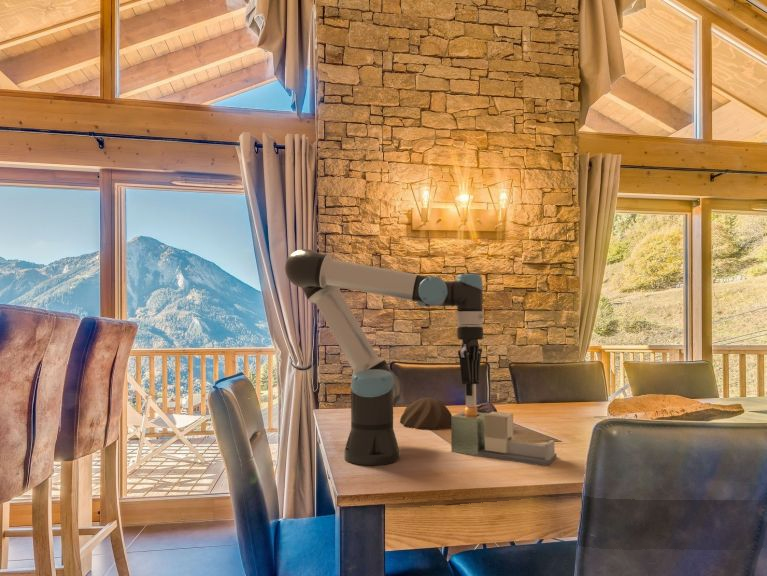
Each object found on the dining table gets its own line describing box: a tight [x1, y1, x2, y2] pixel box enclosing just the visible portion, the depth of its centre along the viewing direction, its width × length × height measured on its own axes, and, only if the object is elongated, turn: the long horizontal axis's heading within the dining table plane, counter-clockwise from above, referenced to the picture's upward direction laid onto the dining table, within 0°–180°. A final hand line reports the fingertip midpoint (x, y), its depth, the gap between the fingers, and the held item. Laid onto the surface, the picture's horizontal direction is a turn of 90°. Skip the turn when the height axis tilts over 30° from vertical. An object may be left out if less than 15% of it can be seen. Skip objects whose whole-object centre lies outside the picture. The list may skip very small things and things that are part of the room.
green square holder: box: [450, 410, 488, 456], centre depth 146 cm, size 10×8×10 cm
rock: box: [476, 402, 498, 414], centre depth 175 cm, size 12×9×10 cm
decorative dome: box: [399, 396, 453, 430], centre depth 183 cm, size 19×20×10 cm
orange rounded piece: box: [464, 406, 477, 417], centre depth 147 cm, size 4×4×4 cm
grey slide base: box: [478, 439, 557, 467], centre depth 139 cm, size 10×19×5 cm, turn 58°
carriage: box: [485, 411, 514, 453], centre depth 142 cm, size 7×6×10 cm
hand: (471, 406), depth 147 cm, fingers closed
